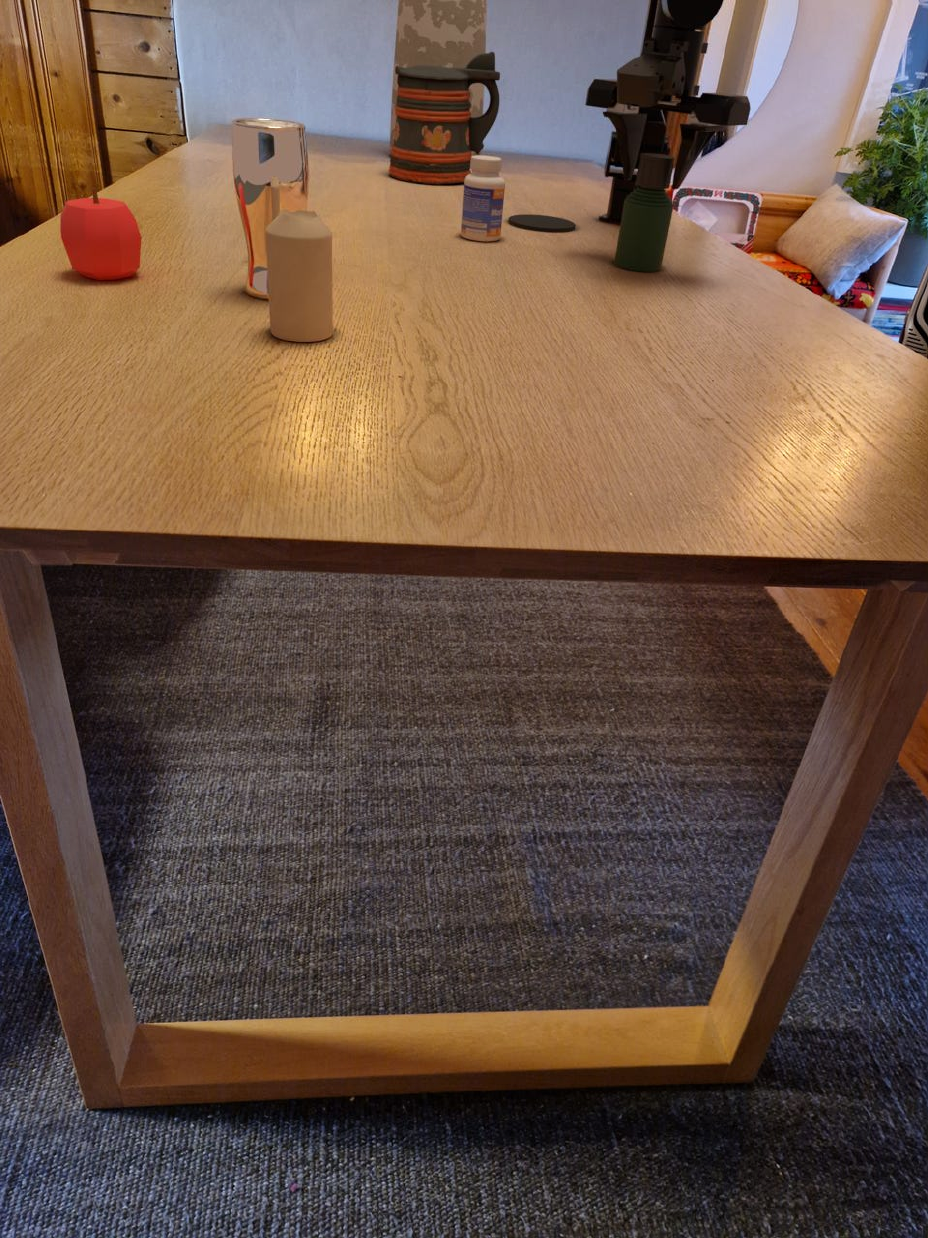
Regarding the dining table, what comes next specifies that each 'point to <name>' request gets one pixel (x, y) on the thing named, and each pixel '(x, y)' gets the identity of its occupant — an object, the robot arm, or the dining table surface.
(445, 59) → the vase
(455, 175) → the beer stein
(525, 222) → the coaster
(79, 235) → the apple
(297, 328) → the candle
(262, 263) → the beer glass
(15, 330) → the dining table surface
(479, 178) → the pill bottle
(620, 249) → the bottle
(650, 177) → the cap
